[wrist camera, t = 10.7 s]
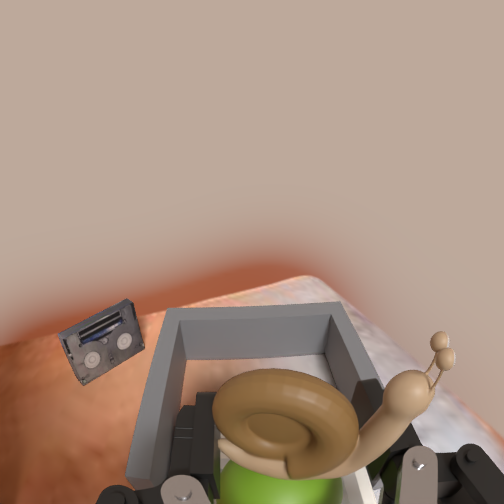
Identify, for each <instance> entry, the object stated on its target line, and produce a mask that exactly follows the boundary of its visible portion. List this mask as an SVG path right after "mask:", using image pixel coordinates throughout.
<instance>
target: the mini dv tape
mask: <svg viewBox="0 0 504 504" xmlns="http://www.w3.org/2000/svg"><path fill="white" fill-rule="evenodd" d="M58 336H59V339H60V342H61V344H62V347H63V349H64V351H65V354H66V356H67V358H68V361H69V363H70V365H71V367H72V369H73V371H74V374H75V376H76V378H77V379H78V380H79V381H80V383H81V384H82V385H83V386H84V385H86V384H88V383H89V382H91V381H93V380H94V379H96V378H98V377H99V376H101V375H103V374H104V373H106V372H108V371H109V370H111V369H112V368H114V367H116V366H117V365H119V364H121V363H122V362H124V361H126V360H127V359H129V358H130V357H132V356H134V355H135V354H137V353H139V352H140V351H142V350H143V349H145V347H144V344H143V340H142V336H141V332H140V328H139V324H138V320H137V316H136V312H135V308H134V303H133V302H132V301H130V300H129V299H125V300H123V301H121V302H119V303H117V304H115V305H113V306H111V307H109V308H107V309H105V310H103V311H102V312H99V313H97V314H95V315H94V316H91V317H89V318H88V319H86V320H84V321H82V322H80V323H78V324H76V325H74V326H72V327H70V328H68V329H66V330H64V331H62V332H61V333H58Z"/></svg>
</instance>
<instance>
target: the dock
mask: <svg viewBox="0 0 504 504" xmlns="http://www.w3.org/2000/svg"><path fill="white" fill-rule="evenodd" d="M323 353H325V355H326V358H327V361H328V364H329V366H330V369H331V372H332V375H333V378H334V381H335V384H336V386H337V389H338V391H340V392H341V393H342V394H343V395H344V396H345V397H346V398H347V399H348V401H349V402H350V403H351V400H352V397H353V393H354V390H355V386H356V383H357V381H360V380H366V379H372V378H376V379H377V380H378V381H379V383H380V385H381V387H382V389H385V388H384V386H383V384H382V382H381V380H380V378H379V376H378V374H377V372H376V370H375V368H374V366H373V364H372V362H371V360H370V358H369V356H368V354H367V352H366V350H365V348H364V346H363V344H362V342H361V340H360V338H359V336H358V334H357V332H356V330H355V329H354V327H353V325H352V323H351V321H350V319H349V317H348V315H347V313H346V311H345V310H344V308H343V306H342V304H341V302H340V301H339V302H325V303H309V304H291V305H271V306H246V307H211V308H167V311H166V315H165V318H164V321H163V325H162V328H161V331H160V335H159V338H158V342H157V345H156V349H155V353H154V356H153V360H152V363H151V367H150V371H149V375H148V378H147V382H146V386H145V390H144V394H143V398H142V402H141V406H140V410H139V414H138V418H137V422H136V427H135V431H134V435H133V440H132V444H131V449H130V453H129V458H128V463H127V468H126V472H125V477H126V478H127V480H128V481H129V482H130V484H131V485H132V486H133V487H134V489H135V490H141V489H147V488H152V487H155V486H158V485H160V484H161V483H162V482H164V481H165V479H166V478H167V477H168V474H169V471H170V464H171V456H172V448H173V440H174V433H175V426H176V419H177V415H178V413H179V408H180V401H181V394H182V387H183V380H184V373H185V367H186V360H221V359H253V358H272V357H288V356H301V355H312V354H323ZM365 467H366V470H367V473H368V476H369V480H370V483H371V486H372V489H373V490H376V489H379V488H381V487H382V485H383V483H382V480H381V479H378V480H375V481H372V479H371V476H370V473H369V470H368V467H367V466H365Z"/></svg>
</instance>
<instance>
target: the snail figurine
mask: <svg viewBox="0 0 504 504" xmlns="http://www.w3.org/2000/svg"><path fill="white" fill-rule="evenodd" d="M430 345H431V348H432V350H433V351H435V352H436V353H435V356H434V359H433V361H432V363H431V365H430V367H429V368H428V370H427V371H426V372H424V373H423V372H421V371H418V370H408V371H404V372H401V373H399V374H398V375H396V376H395V377H393V378H392V379H391V380H390V381H389V383H388V384H387V385H386V387H385V390H384V393H383V403H382V405H381V406H380V407H379V409H378V410H377V411H376V412H375V413H374V414H373V416H372V417H371V418H370V419H369V420H368V421H367V422H366V423H365V424H364V425H363V427H362V428H361V429H360V430H359V424H358V418H357V415H356V412H355V410H354V408H353V406H352V404H351V403H350V402H349V401H348V399H347V398H346V397H345V396H344V395H343V394H342V393H341V392H340V391H338V390H337V389H336V388H334V387H333V386H332V385H330V384H329V383H327V382H325V381H323V380H321V379H319V378H317V377H314V376H311V375H308V374H306V373H302V372H298V371H293V370H287V369H275V368H271V369H258V370H253V371H248V372H245V373H242V374H239V375H237V376H235V377H233V378H231V379H230V380H228V381H227V382H226V383H224V384H223V385H222V387H221V388H220V389H219V390H218V392H217V393H216V395H215V397H214V401H213V405H212V414H213V419H214V422H215V424H216V426H217V428H218V430H219V431H220V432H221V434H222V435H223V436H224V437H225V438H221V439H218V448H219V449H220V450H221V451H222V452H223V453H224V454H225V455H226V456H227V457H228V458H230V460H229V461H228V463H227V464H226V465H225V467H224V468H223V470H222V472H221V473H220V499H216V504H341V503H342V498H343V484H342V479H341V477H343V476H346V475H349V474H351V473H353V472H355V471H357V470H359V469H361V468H363V467H365V466H367V465H368V464H370V463H371V462H372V461H374V460H375V459H377V458H378V457H379V456H381V455H382V454H383V453H384V452H385V451H386V450H387V449H388V448H389V447H391V446H392V445H393V444H394V443H395V442H396V441H397V439H398V438H399V437H400V436H401V435H402V434H403V432H404V431H405V430H406V428H407V427H408V425H409V424H410V423H411V421H412V420H413V419H414V418H416V417H417V416H419V415H420V414H422V413H423V412H424V411H425V410H426V409H427V408H428V406H429V404H430V403H431V401H432V399H433V397H434V395H435V386H436V385H437V383H438V381H439V379H440V377H441V375H442V373H443V371H447V370H450V369H451V368H452V367H453V366H454V364H455V360H456V358H455V357H456V356H455V352H454V351H453V350H452V349H451V348H448V346H449V337H448V335H447V334H446V333H445V332H442V331H440V332H437V333H435V334H434V335H433V336H432V338H431V341H430ZM434 363H436V365H437V367H438V368H439V369H440V370H441V371H440V374H439V376H438V378H437V380H436V381H435V383H433V381H432V379H431V378H430V377H429V376H428V373H429V372H430V370H431V368H432V366H433V365H434Z"/></svg>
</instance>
